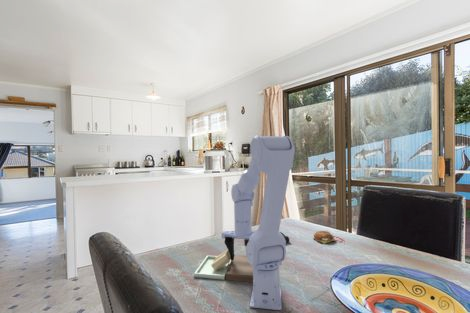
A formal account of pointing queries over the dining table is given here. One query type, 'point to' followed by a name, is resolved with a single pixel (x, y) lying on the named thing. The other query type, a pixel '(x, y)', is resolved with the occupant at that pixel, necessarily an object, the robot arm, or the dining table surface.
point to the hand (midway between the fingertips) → (243, 260)
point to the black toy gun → (280, 232)
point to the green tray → (211, 269)
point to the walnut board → (240, 269)
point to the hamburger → (325, 237)
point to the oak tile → (221, 260)
